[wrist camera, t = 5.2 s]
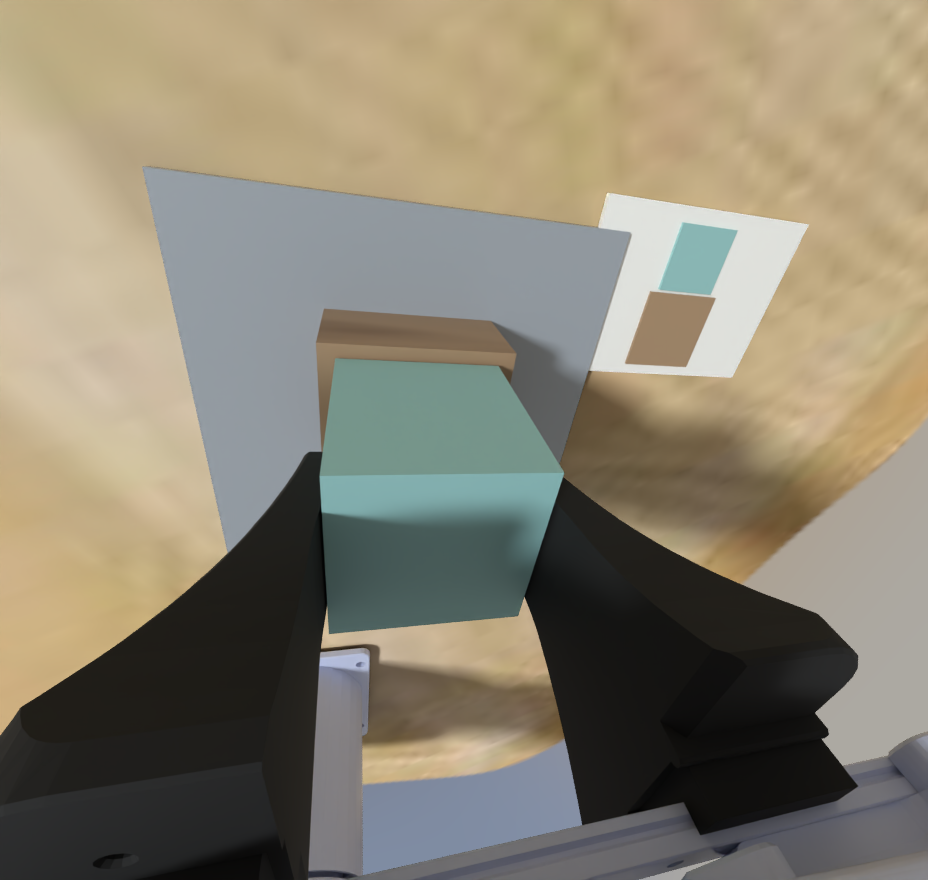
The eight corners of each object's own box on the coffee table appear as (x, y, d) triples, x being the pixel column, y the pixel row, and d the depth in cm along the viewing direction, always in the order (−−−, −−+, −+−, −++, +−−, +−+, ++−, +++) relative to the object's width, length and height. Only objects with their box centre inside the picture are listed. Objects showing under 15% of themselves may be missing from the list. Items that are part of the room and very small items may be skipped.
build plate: (534, 533, 22) (536, 538, 22) (230, 547, 19) (228, 554, 18) (624, 230, 15) (630, 232, 14) (148, 166, 11) (142, 166, 11)
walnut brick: (468, 452, 18) (486, 499, 15) (329, 452, 16) (323, 504, 14) (490, 321, 15) (516, 353, 12) (323, 308, 14) (315, 342, 11)
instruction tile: (728, 375, 19) (733, 378, 19) (560, 367, 17) (563, 370, 17) (804, 223, 16) (811, 225, 15) (607, 193, 14) (611, 193, 14)
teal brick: (475, 487, 15) (518, 616, 11) (339, 490, 14) (328, 634, 10) (498, 366, 12) (564, 472, 8) (335, 358, 11) (319, 476, 7)
